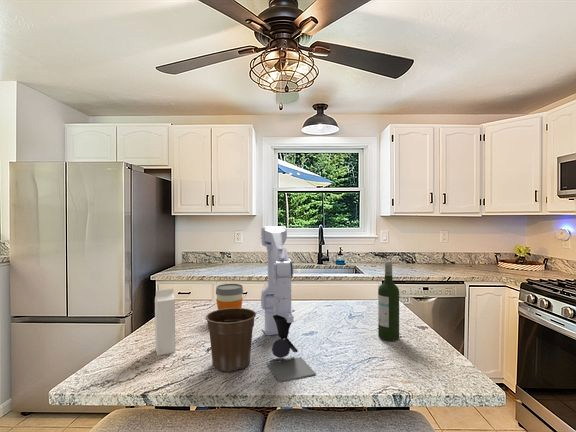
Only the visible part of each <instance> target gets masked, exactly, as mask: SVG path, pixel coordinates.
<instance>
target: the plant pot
mask: <svg viewBox="0 0 576 432" xmlns="http://www.w3.org/2000/svg"><path fill="white" fill-rule="evenodd" d="M256 316H257V313H256V311H255V310H253V309H249V308H244V307H241V308H226V309H220V310H218V309H217V310H213V311H210V312H208V313H207V314H205V320H206V321H207V328H208V331H209V339H210V340H209V341H210V352H211V361H212V364H211V365H212V367H213V368H214V369H215V370H216V371H220V372H226V373H227V372H237V371H238V370H239V369H241V370H243V369H245V368H247V367H248V366H249V365H250V363H251V355H252V354H251V353H252V342H253V340H252V339H253V331H254V330H253V329H254V326H255V318H256Z"/></svg>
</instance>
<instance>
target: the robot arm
mask: <svg viewBox="0 0 576 432" xmlns="http://www.w3.org/2000/svg"><path fill="white" fill-rule="evenodd" d="M287 233H288V232H287V227H286V225H283V226H281V225H279V226H271V225H270V226H267V225H265V226H263V225H262V227H261V237H260V238H261V245H262V246H263V247H265V248H266V250H267V286H266V287H264V288H263V289H262V290H261V296H260V302H261V303H260V304H261V305H260V306H261V309H262V310H263V311H264V327H262V328H261V330H262V331H263V333H265V335H266V336H274V335H278V337H279V339H286V338H288V335H289V332H290V328H291V326H292V323H294V321H295V320H294V315H293V313H294V312H295V311H296V310H295V308H293V307H292V279H293V276H294V265H293V262H292V260H291V259H290V258H289V255H288V254H289V253H288V250H287V249H286V248H285V247H284V245H285V243H286V240H287V238H288V234H287Z"/></svg>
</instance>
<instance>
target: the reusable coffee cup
mask: <svg viewBox="0 0 576 432" xmlns="http://www.w3.org/2000/svg"><path fill="white" fill-rule="evenodd" d="M215 294H216V306H217V307H216V308H217V310H220V309H226V308H243V307H242V306H243V294H244V286H243V285H242V284H240V283H223V284H219V285H217V286H216V288H215Z"/></svg>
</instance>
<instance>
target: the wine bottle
mask: <svg viewBox="0 0 576 432" xmlns="http://www.w3.org/2000/svg"><path fill="white" fill-rule="evenodd" d="M377 291H378V292H377V294H378V295H377V297H378V298H377V301H378V303H377V306H378V307H377V309H378V310H377V311H378V312H377V313H378V314H377V315H378V316H377V317H378V318H377V319H378V320H377V321H378V322H377V323H378V326H377V327H378V329H377V331H378V332H377V333H378V338H379V339H380V340H382V341H386V342H397V341H399V340H400V289H399V287H398V286H397V285H396V284H395V283H394V280H393V261H392V260H385V262H384V281H383V282H382V283H381V284H380V285H379V286H378V289H377Z"/></svg>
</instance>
